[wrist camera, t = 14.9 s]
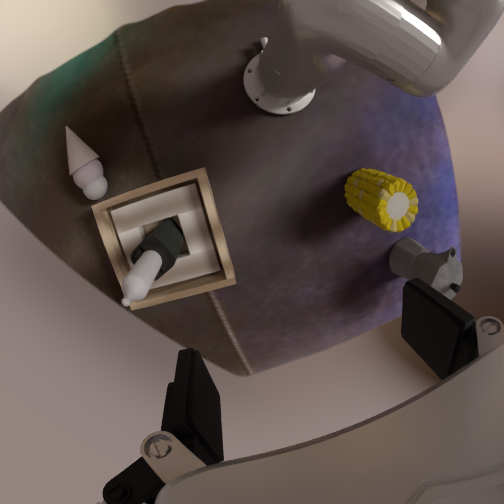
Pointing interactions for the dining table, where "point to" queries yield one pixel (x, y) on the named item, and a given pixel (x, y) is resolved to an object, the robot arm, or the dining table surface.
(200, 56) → the dining table surface
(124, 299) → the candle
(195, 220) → the box
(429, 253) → the coffeepot
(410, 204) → the food
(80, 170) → the ice cream cone
